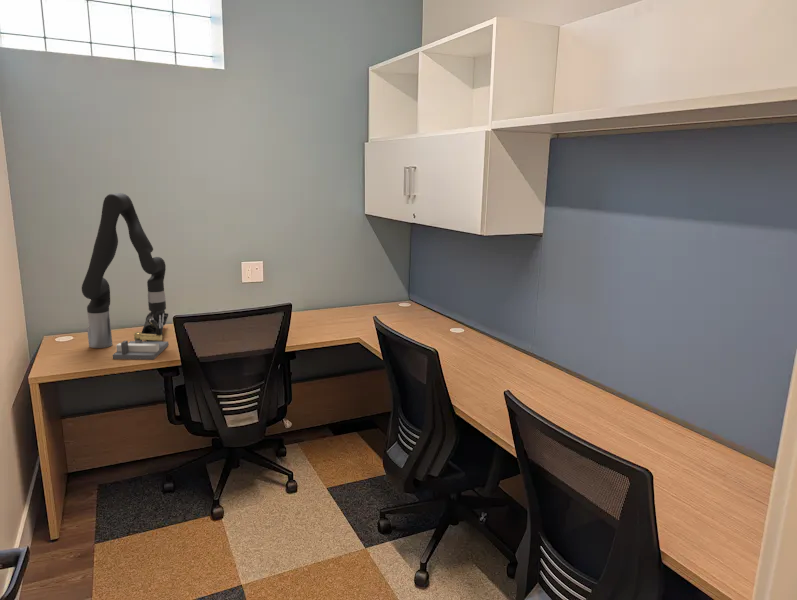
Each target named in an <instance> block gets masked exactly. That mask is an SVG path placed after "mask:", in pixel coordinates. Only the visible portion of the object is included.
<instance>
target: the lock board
mask: <svg viewBox="0 0 797 600" xmlns="http://www.w3.org/2000/svg"><path fill="white" fill-rule="evenodd" d="M168 345H169V341H162V340H161V341H146V340H135V339H134V340H130V341H128V340H123V341H122V342H121V343H120V342H118V343H117V344H116V345H115V348H116V352H115V353H113V354H112V359H113V360H155V359H156V358H157V357H158V356H159V355H160V354H161V353H162V352H164V350H165V349H166V348H168ZM169 346H170V345H169Z"/></svg>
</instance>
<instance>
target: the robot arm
mask: <svg viewBox="0 0 797 600" xmlns="http://www.w3.org/2000/svg"><path fill="white" fill-rule="evenodd" d="M103 199H104V200H103V202H102V208H101V215H100V216H101V217H100V222H99V226H98V230H97V235H96V237H95V241H94V245H93V250H92V253H91V257H90V260H89V266H88V269H87V271H86V274H85V277H84V279H83V281H82V284H81V293H82V295H83V296H84V297H85V298H86V299H88V300H90V302H89V303H88V304H87V306H86V310H87V320H88V327H87V328H86V330H87V340H88V347H89V348H93V349H105V348H109V347H111V346H112V345H113V335H112V326H111V325H112V323H111V317H110V316H111V313H110V305H111V287H110V285H109V282H108V280H107V279H106V278H104V275H105V273H106V271H107V269H108V268H109V266H110V264H112V262H113V259H114V258H115V256H116V252H117V249H118V245H119V237H118V233H117V225H118V220H119V217H120V215H121V217H122V218H123V220H124V221H125V224H126V225H127V230H128V236H129V240H130V242H131V244H132V246H133V248H134V250H135V252H137V254H138V259H139V263H140V266H141V268H142V270H143V271H144V272H145V273H146V274H148V275H151V276H150V277H149V279H147V282H146V285H147V286H146V287H147V305H148V311H150V312H151V318H150V319H148V322H149V324H150V325H151V326H152V328H156V334H162V336H163V331H162V327H163V328H164V326H165V325H166V323H167V320H168V317H169V313H167V312H166V311H165V310H166V309H167V304H166V303H167V302H166V293H165V292H166V291H165V286H164V285H165V284H164V282H165V276H166V269H167V268H166V262H165V260H164V259H163V258H162V257H160V256H155V257H153V256H152V253H153V251H154V247H153V245H152V243H151V242H150V240H149V238H148V236H147V234H146V233H145V231H144V228H143V227H142V224H141V222H140V220H139V216H138V213H137V212H136V209H135V206H134V204H133V201H132V199H131V197H130V196H129V195H127V194H126V193H121V192H120V193H109V194H107V195H106V196H105V197H104V198H103ZM163 325H164V326H163Z"/></svg>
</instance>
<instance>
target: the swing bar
mask: <svg viewBox="0 0 797 600" xmlns="http://www.w3.org/2000/svg"><path fill="white" fill-rule="evenodd" d="M133 339H134V341H135V340H142V341H146V340H157V341H162V340H163V335H162V334H142V331H141V332H140V331H139V332H134V334H133Z"/></svg>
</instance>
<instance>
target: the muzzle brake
mask: <svg viewBox="0 0 797 600" xmlns="http://www.w3.org/2000/svg"><path fill="white" fill-rule="evenodd" d="M150 318H151V311H150V312H148V314H147V315H146V317H145V323H144V324H143V327H142V330H141V333H142V334H156V328H152V326H151V325H150V324H149V322H148V319H150ZM164 327H165V325H163V327H162V331H163V330H164ZM145 341H157V340H145Z"/></svg>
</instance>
